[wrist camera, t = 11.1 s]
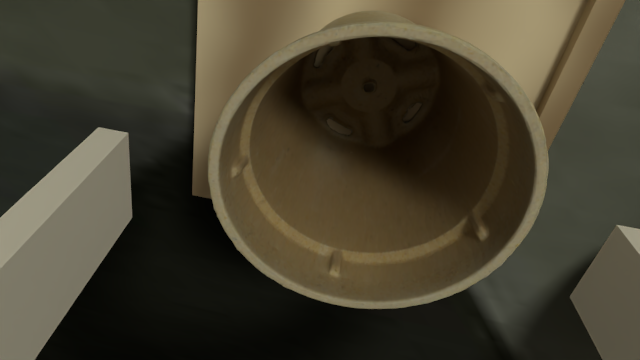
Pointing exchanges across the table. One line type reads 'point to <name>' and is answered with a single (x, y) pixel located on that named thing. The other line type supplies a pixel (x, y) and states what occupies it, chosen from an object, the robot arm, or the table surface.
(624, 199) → the table surface
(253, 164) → the flower pot
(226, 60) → the board
